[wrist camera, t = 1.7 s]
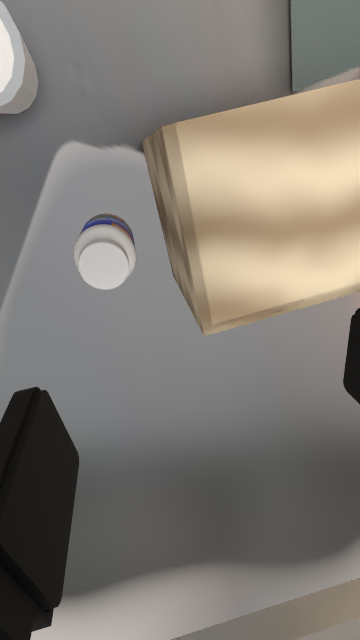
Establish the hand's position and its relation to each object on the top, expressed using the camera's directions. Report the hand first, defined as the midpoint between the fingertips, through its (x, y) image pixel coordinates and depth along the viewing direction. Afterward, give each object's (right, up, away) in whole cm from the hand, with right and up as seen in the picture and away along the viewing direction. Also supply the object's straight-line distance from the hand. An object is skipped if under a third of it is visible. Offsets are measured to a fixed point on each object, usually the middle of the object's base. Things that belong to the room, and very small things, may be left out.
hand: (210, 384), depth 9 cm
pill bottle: (-9, +11, +23) cm, 27 cm away
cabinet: (+5, +15, +24) cm, 28 cm away
